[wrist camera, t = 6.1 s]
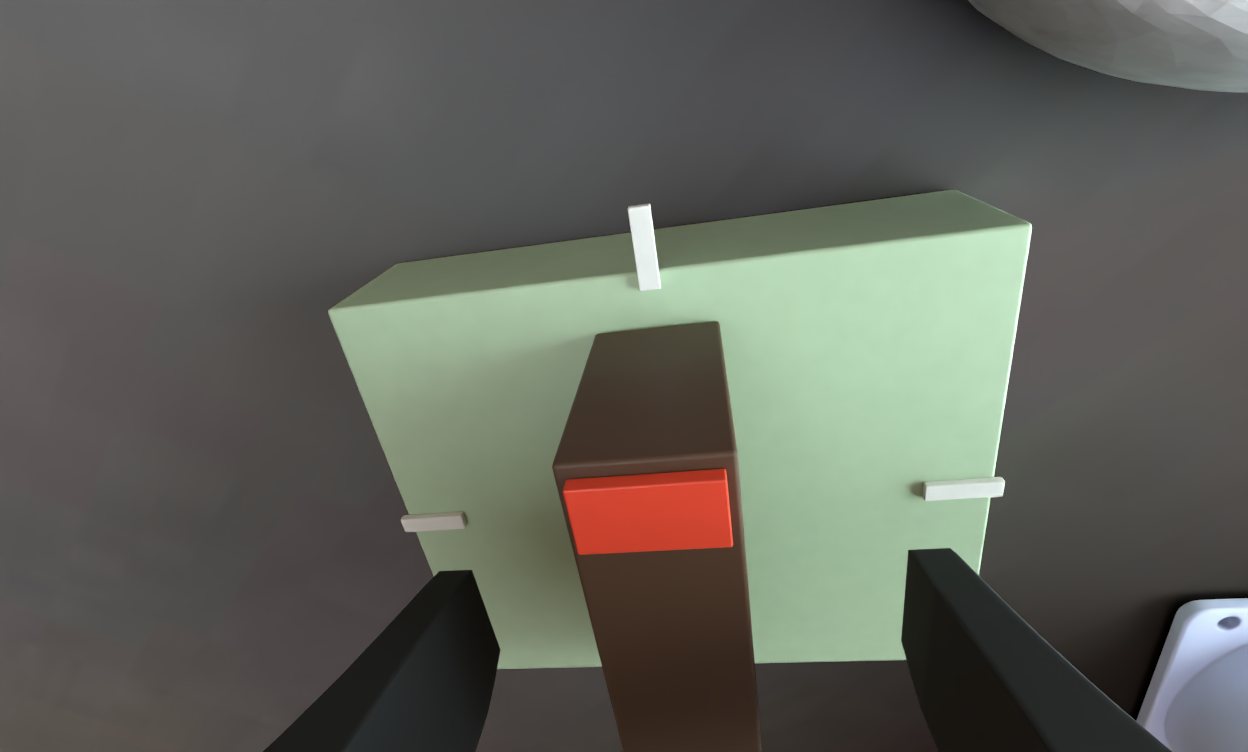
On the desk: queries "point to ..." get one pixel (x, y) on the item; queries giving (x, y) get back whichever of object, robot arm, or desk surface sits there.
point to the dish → (1138, 37)
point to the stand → (759, 393)
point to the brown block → (663, 538)
